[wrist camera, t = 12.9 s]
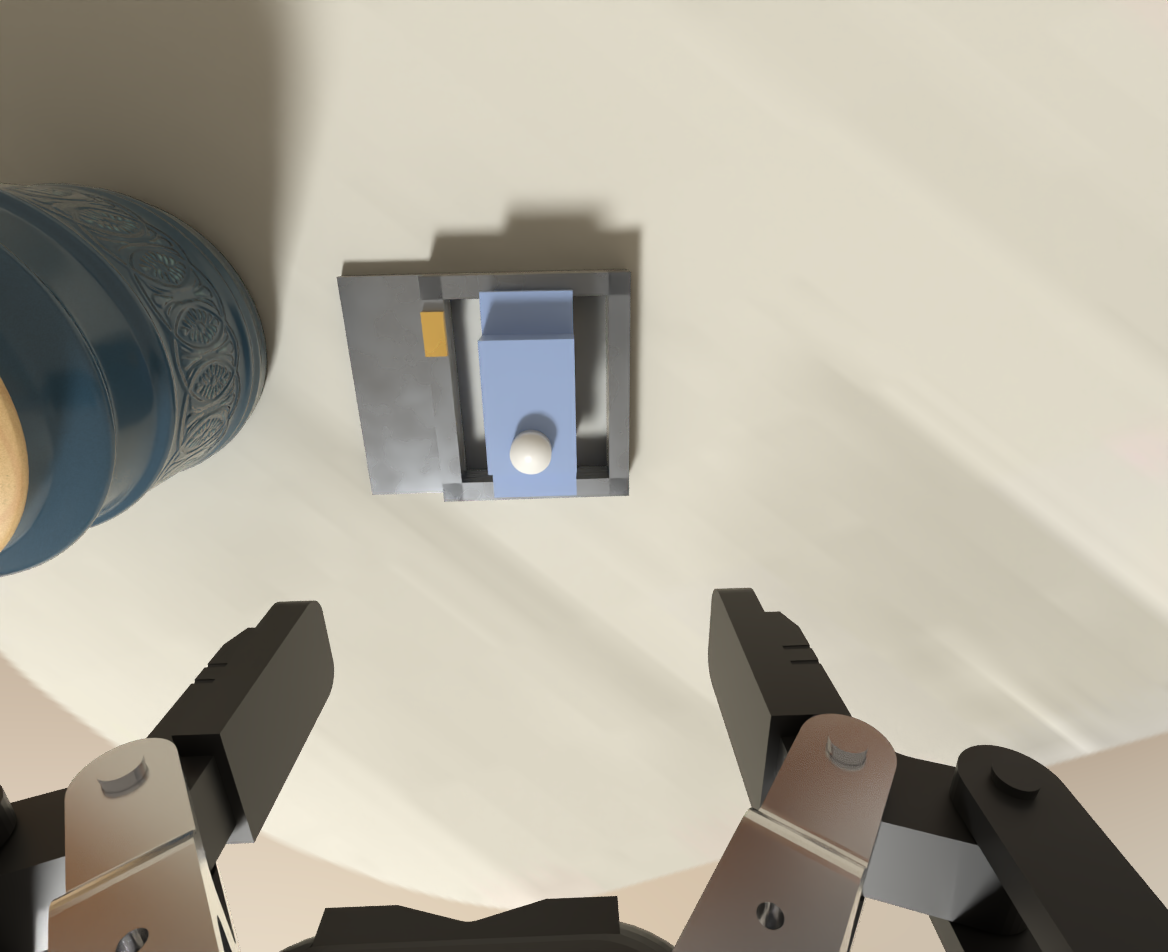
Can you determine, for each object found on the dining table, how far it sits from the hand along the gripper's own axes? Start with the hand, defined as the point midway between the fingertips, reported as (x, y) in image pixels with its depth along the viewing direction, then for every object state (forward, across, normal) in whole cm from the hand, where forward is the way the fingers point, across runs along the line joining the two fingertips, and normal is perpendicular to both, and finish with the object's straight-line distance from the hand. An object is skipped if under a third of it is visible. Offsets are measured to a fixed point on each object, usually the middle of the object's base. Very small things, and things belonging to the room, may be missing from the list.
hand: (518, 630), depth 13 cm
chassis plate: (+20, +3, 0) cm, 20 cm away
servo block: (+20, +1, 0) cm, 20 cm away
